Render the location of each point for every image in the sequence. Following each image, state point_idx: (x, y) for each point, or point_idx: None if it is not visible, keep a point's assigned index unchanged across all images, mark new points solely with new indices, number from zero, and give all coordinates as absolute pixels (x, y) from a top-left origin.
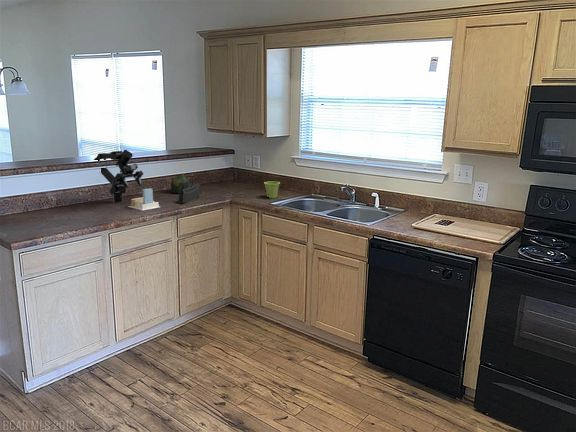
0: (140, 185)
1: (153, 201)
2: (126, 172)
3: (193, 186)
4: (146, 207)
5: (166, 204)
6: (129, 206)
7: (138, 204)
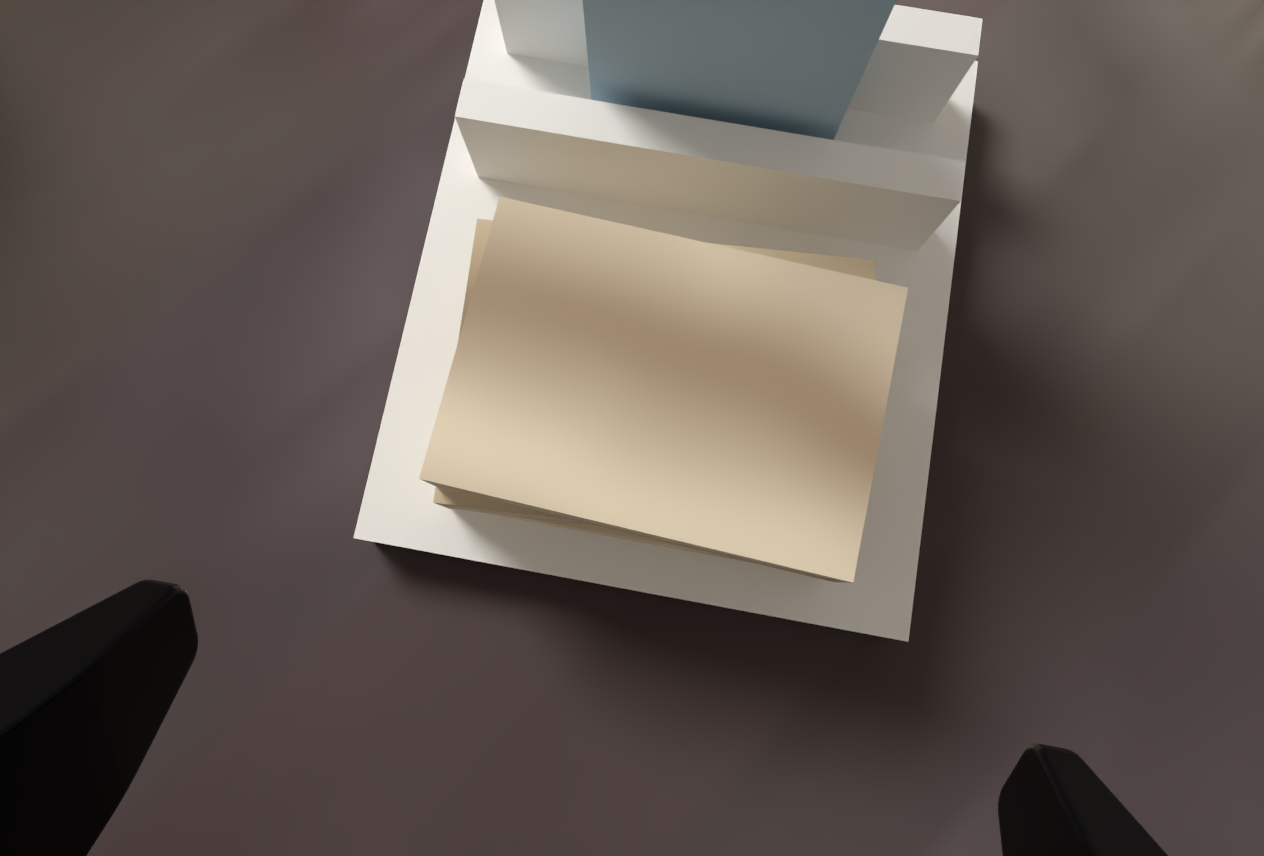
0: (180, 629)
1: (500, 86)
2: None
3: None
4: None
5: (70, 210)
6: (881, 582)
7: (958, 179)
